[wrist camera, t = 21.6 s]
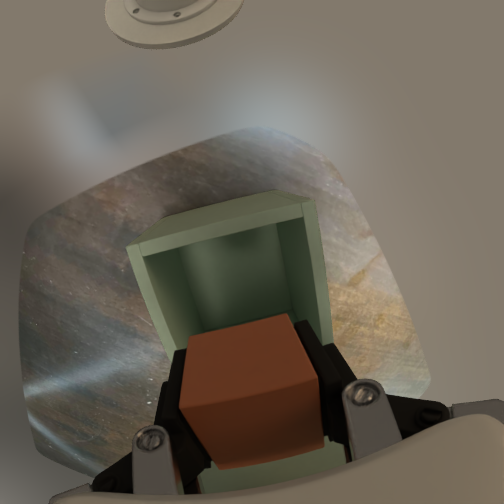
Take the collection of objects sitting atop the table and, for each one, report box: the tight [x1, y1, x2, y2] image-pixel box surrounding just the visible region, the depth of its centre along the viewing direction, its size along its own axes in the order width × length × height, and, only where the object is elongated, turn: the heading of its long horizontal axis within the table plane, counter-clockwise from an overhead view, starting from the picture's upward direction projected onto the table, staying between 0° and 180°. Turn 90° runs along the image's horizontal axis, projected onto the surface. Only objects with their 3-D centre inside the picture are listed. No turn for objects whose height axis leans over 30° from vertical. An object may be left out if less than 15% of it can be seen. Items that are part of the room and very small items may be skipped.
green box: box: [126, 190, 334, 364], centre depth 24 cm, size 14×12×12 cm
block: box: [179, 313, 325, 470], centre depth 9 cm, size 4×4×4 cm
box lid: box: [200, 436, 345, 494], centre depth 12 cm, size 15×12×6 cm
